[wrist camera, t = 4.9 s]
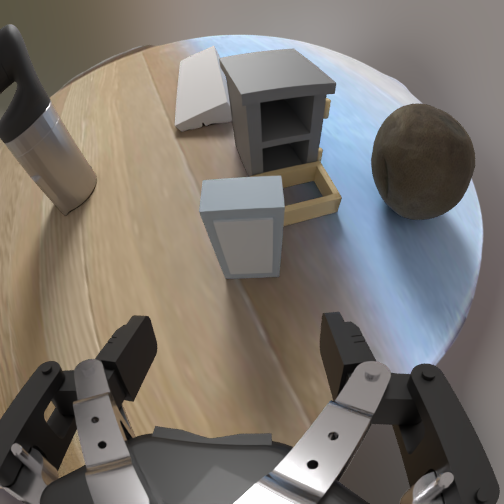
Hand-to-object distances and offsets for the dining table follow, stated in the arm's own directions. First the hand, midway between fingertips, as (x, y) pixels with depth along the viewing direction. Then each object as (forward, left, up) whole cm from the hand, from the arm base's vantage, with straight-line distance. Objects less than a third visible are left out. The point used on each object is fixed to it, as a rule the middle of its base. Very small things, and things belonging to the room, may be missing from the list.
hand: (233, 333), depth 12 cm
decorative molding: (+39, +39, -17) cm, 58 cm away
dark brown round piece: (+29, -7, -16) cm, 34 cm away
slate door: (+9, +6, -16) cm, 19 cm away
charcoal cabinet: (+23, +10, -16) cm, 30 cm away
